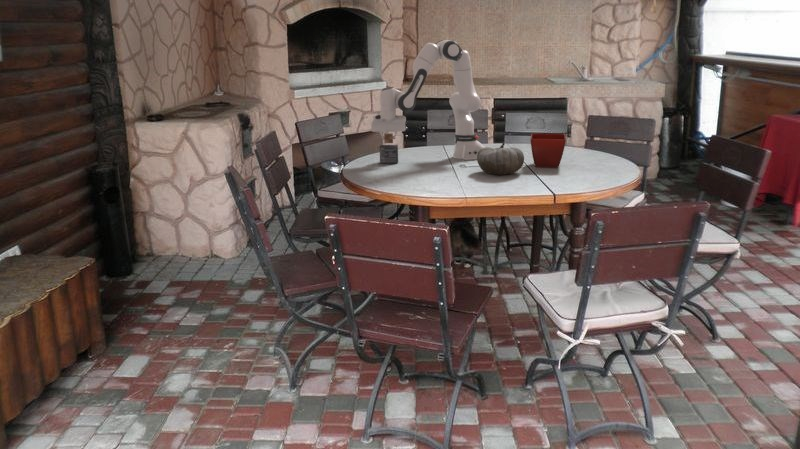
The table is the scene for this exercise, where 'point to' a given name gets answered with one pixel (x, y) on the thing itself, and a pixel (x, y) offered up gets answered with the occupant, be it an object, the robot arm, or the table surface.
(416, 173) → the table surface
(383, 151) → the small box
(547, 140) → the plant pot
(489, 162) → the gourd
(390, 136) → the walnut cube
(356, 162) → the table surface
